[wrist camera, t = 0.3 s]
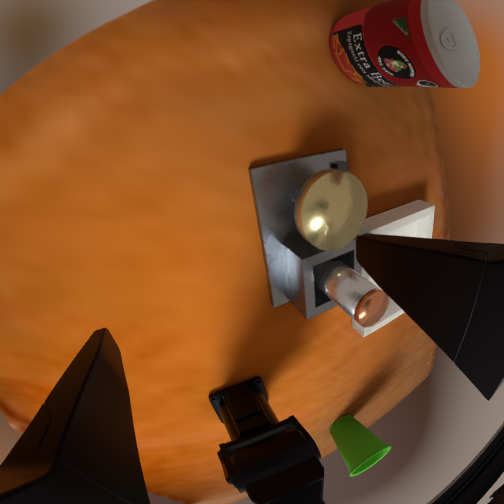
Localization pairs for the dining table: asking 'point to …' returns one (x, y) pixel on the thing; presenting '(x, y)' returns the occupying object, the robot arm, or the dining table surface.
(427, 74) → the canned food
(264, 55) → the dining table surface
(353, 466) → the cup
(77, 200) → the dining table surface
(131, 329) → the dining table surface
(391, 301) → the tray
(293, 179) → the plate
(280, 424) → the robot arm
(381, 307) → the pin
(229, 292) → the dining table surface
